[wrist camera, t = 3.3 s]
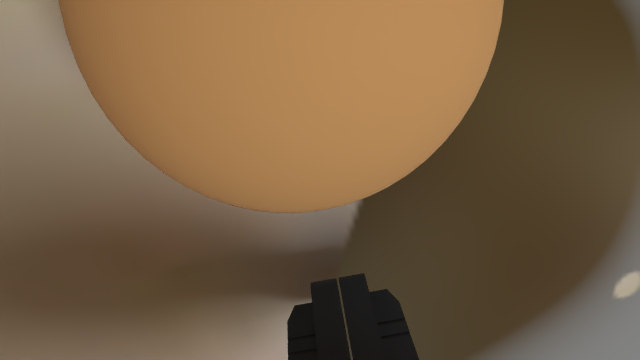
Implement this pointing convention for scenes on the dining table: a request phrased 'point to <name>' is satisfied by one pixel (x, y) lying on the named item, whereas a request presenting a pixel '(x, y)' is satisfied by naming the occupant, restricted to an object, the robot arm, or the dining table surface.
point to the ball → (284, 89)
